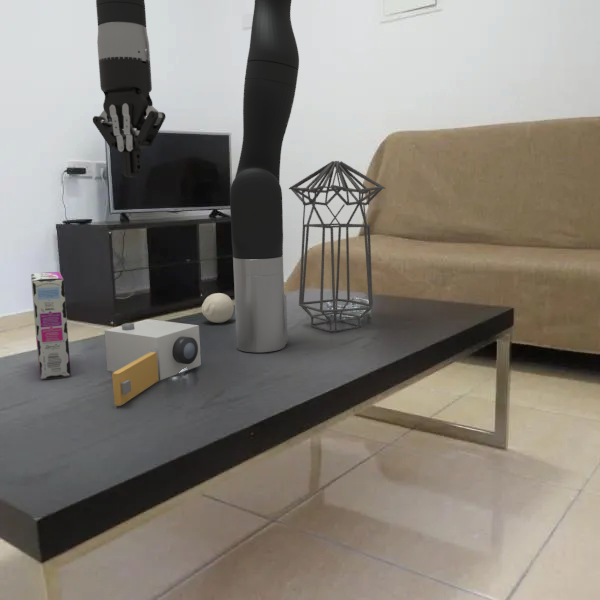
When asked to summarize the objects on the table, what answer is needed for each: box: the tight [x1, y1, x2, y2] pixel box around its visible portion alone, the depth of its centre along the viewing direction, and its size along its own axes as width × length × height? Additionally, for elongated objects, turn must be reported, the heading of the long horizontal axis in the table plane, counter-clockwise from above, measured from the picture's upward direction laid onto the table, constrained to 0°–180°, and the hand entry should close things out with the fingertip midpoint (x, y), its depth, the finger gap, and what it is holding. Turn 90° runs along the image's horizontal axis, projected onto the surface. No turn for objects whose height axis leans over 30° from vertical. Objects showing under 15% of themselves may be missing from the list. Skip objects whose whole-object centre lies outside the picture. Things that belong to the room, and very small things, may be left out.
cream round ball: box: [201, 292, 235, 324], centre depth 145 cm, size 7×7×7 cm
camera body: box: [103, 318, 202, 381], centre depth 109 cm, size 10×14×8 cm
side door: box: [111, 349, 162, 406], centre depth 96 cm, size 13×2×5 cm, turn 167°
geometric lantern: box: [288, 160, 386, 333], centre depth 136 cm, size 16×16×35 cm
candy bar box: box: [30, 271, 72, 380], centre depth 109 cm, size 11×5×16 cm, turn 23°
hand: (132, 176), depth 100 cm, fingers closed
